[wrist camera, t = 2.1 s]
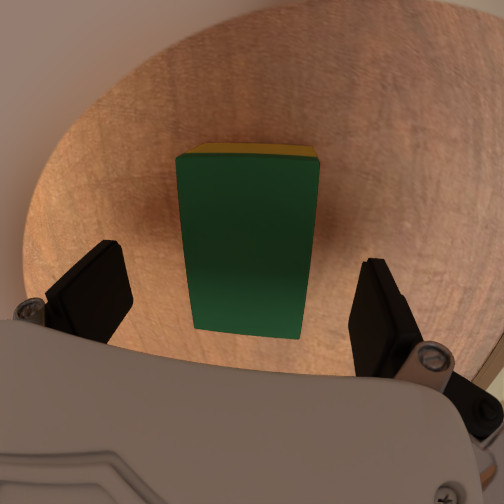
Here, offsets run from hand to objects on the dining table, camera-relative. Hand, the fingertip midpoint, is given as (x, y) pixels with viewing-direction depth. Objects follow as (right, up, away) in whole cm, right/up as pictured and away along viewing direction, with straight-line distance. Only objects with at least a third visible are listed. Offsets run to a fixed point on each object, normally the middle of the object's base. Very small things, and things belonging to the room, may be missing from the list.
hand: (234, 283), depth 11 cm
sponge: (+1, +3, +4) cm, 4 cm away
